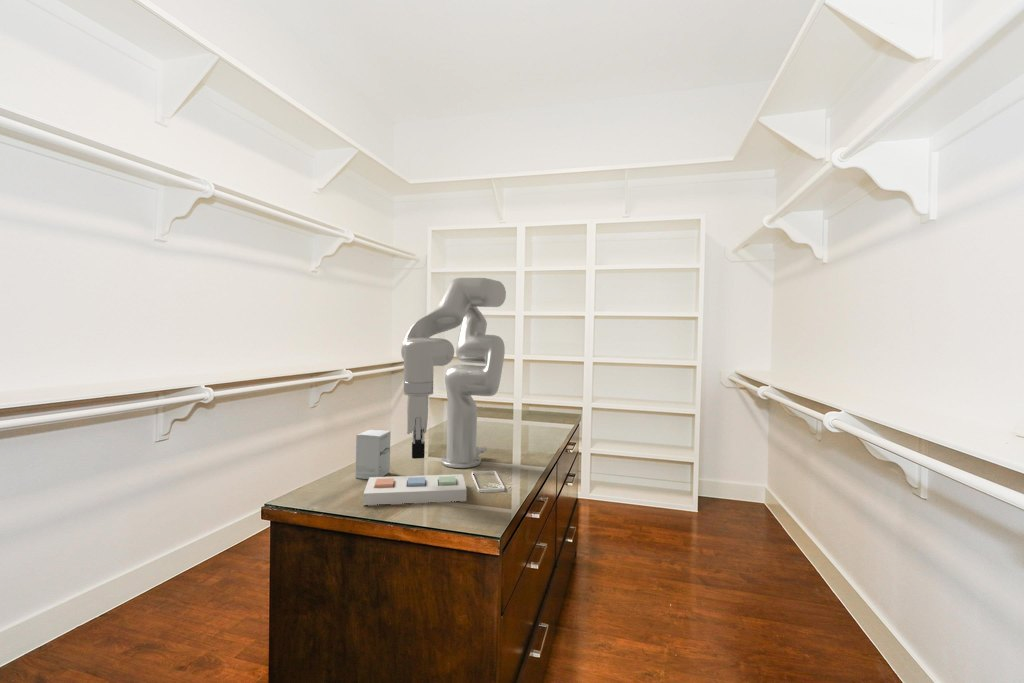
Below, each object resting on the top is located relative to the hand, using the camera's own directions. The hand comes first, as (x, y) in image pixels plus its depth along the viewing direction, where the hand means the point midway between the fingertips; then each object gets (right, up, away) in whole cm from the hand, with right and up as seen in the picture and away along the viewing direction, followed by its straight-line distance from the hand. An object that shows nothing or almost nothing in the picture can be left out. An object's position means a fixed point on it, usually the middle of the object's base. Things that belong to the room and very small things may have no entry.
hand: (418, 457), depth 122 cm
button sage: (+7, -9, +1) cm, 12 cm away
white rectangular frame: (+18, -10, +11) cm, 23 cm away
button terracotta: (-8, -9, -2) cm, 12 cm away
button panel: (0, -10, 0) cm, 10 cm away
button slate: (0, -9, 0) cm, 9 cm away
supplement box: (-16, -9, +14) cm, 23 cm away
